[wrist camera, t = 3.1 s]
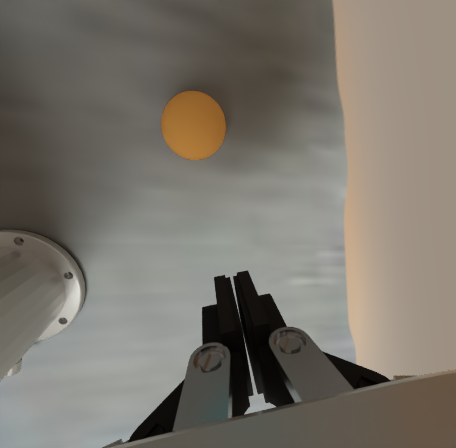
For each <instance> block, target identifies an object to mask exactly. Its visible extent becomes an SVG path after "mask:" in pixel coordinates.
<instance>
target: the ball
mask: <svg viewBox="0 0 456 448" xmlns="http://www.w3.org/2000/svg"><path fill="white" fill-rule="evenodd" d="M161 129H162V134H163V137H164V139H165V141H166V143H167V144H168V146H169V147H170V148H171V149H172V150H173V151H174V152H175V153H176V154H178V155H179V156H181V157H183V158H186V159H190V160H201V159H205V158H207V157H209V156H211V155H212V154H214V153H215V152H216V151H217V150H218V149H219V148H220V146H221V144H222V142H223V140H224V137H225V133H226V121H225V117H224V113H223V111H222V109H221V108H220V106H219V105H218V103H217V102H216V101H215V100H214V99H213V98H211V97H210V96H209V95H207V94H205V93H202V92H199V91H185V92H182V93H179V94H177V95H176V96H174V97H173V98H172V99H171V100H170V101H169V102H168V103H167V105H166V107H165V108H164V111H163V114H162V119H161Z"/></svg>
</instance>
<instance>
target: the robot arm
mask: <svg viewBox="0 0 456 448" xmlns="http://www.w3.org/2000/svg"><path fill="white" fill-rule="evenodd" d="M233 279H234V285H235V291H236V297H237V302H238V308H239V313H238V309H237V305H236V301H235V297H234V293H233V288H232V284H231V280H230V277H228V278H225V275H222V276H217V277H214V281H215V290H216V299H217V304H215V305H210V306H206V307H202V342H203V345H202V346H200V347H199V348H197V349H196V350H195V351H194V352H193V354H192V355H191V357H190V359H189V363H188V367H187V372H186V376H185V379H184V380H183V381H182V382H181V383H180V384H179V385H178V386H177V387H176V388H175V390H174V391H173V392H172V393H171V394H170V395H169V396H168V397H167V398H166V399H165V400H164V401H163V402H162V403H161V404H160V405H159V406H158V407H157V408H156V409H155V410H154V411H153V412H152V413H151V414H150V415H149V416H148V417H147V418H146V419H145V420H144V422H143V423H142V424H141V425H140V426H139V427H138V428H137V429H136V430H135V432H134V433H133V434H132V435H131V437H130V439H129V440H128V441H126V442H123V441H122V439H120V440H118V441H116V442H113V443H111V444H109V445H107V446H105V447H103V448H456V370H448V371H442V372H436V373H430V374H424V375H419V376H394V378H393V380H389V379H388V378H386V377H385V376H383V375H381V374H379V373H377V372H374V371H372V370H369V369H367V368H364V367H362V366H359V365H356V364H354V363H351V362H348V361H346V360H343V359H341V358H338V357H335V356H333V355H330V354H328V353H325V352H322V351H321V350H320V348H319V347H318V346H317V345H316V344H315V343H314V341H313V340H312V339H311V338H310V337H309V336H308V334H306V333H305V332H304V331H303V330H301V329H299V328H295V327H287V326H286V324H285V322H284V320H283V318H282V316H281V314H280V312H279V310H278V308H277V306H276V304H275V302H274V300H273V298H272V296H271V295H270V294H265V295H260V296H258V294H257V292H256V289H255V287H254V284H253V282H252V279H251V277H250V275H249V272H248V271H243V272H238V273H237V276H233ZM84 298H85V282H84V279H83V275H82V272H81V270H80V269H79V267H78V265H77V263H76V262H75V260H74V259H73V258H72V257H71V256H70V254H69V253H68V252H66V251H65V250H64V249H63V248H62V247H61V246H59V245H58V244H56V243H55V242H53V241H51V240H50V239H48V238H46V237H43V236H41V235H38V234H36V233H31V232H27V231H23V230H10V229H8V230H0V381H1V380H2V379H3V377H4V376H5V375H6V376H11V375H14V374H17V373H18V372H19V371H20V369H21V362H22V358H21V357H22V356H23V355H24V354H25V353H26V352H27V351H28V349H29V348H30V347H31V346H32V345H33V344H34V343H35V342H36V341H41V340H44V339H47V338H50V337H52V336H54V335H56V334H58V333H60V332H61V331H63V330H64V329H65V328H67V327H68V326H69V325H70V324H71V322H72V321H73V320H74V319H75V318H76V316H77V315H78V313H79V312H80V310H81V308H82V305H83V303H84ZM239 314H240V317H239ZM240 320H241V322H240ZM241 325H242V326H241ZM242 330H243V331H242ZM243 334H244V336H243ZM244 339H245V342H244ZM245 343H246V347H247V351H248V355H249V359H250V363H251V368H252V372H253V376H254V380H255V384H256V388H257V392H258V394H261V393H263V394H264V398H265V402H266V403H269V402H270V403H271V404H273V405H275V406H276V407H275V408H271V409H267V410H262V411H258V412H254V413H250V414H245V415H244V413H245V412H246V410H247V409H248V407H250V403H249V397H248V396H252V395H253V389H252V383H251V377H250V371H249V365H248V359H247V353H246V348H245Z"/></svg>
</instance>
